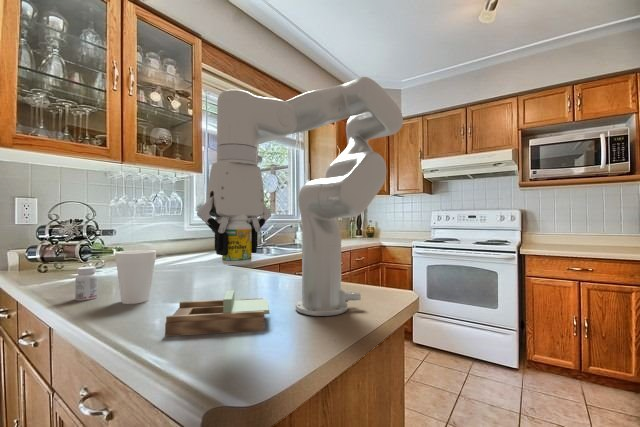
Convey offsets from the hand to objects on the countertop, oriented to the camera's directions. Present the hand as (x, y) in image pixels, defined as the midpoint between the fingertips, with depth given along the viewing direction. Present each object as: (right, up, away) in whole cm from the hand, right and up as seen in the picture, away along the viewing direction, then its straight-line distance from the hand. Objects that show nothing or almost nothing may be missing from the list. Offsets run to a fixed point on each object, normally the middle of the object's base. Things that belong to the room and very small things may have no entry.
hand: (236, 252), depth 59 cm
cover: (0, -13, +7) cm, 15 cm away
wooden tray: (-5, -15, +6) cm, 17 cm away
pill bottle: (-48, -16, +26) cm, 57 cm away
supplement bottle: (0, -2, 0) cm, 2 cm away
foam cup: (-33, -16, +24) cm, 44 cm away
